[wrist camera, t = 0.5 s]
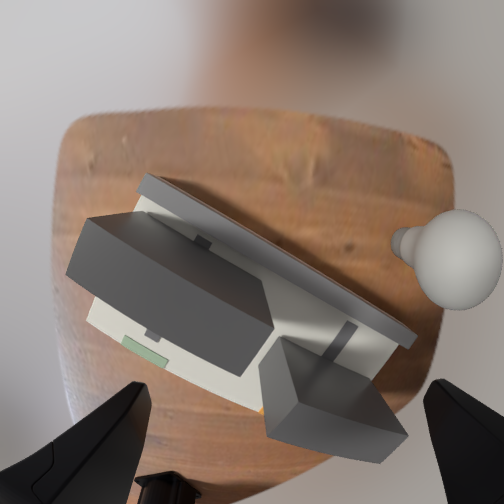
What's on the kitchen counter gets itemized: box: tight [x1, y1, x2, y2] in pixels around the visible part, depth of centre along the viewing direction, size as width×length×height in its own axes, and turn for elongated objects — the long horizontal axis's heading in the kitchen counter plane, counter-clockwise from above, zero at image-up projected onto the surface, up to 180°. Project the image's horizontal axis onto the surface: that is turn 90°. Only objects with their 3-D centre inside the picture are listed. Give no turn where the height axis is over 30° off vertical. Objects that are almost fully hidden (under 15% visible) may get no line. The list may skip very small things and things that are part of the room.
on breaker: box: [65, 211, 275, 377], centre depth 16 cm, size 3×10×8 cm, turn 59°
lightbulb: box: [391, 209, 503, 310], centre depth 17 cm, size 6×6×11 cm
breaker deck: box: [86, 173, 418, 415], centre depth 21 cm, size 13×24×3 cm, turn 59°
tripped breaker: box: [258, 336, 408, 464], centre depth 18 cm, size 3×10×8 cm, turn 59°
